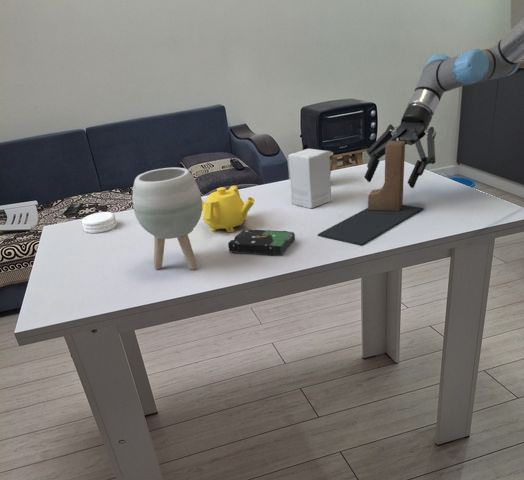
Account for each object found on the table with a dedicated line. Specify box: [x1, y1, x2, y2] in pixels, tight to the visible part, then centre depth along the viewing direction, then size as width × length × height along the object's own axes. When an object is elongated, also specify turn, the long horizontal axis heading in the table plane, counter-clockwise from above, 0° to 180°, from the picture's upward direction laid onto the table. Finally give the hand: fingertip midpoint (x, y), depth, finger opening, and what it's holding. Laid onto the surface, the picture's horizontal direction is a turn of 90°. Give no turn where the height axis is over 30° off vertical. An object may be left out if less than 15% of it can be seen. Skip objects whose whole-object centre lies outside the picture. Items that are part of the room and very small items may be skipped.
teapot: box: [202, 185, 255, 233], centre depth 152 cm, size 20×18×11 cm
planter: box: [132, 167, 203, 271], centre depth 130 cm, size 16×16×22 cm
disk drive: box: [227, 228, 296, 256], centre depth 139 cm, size 10×3×15 cm
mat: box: [317, 204, 424, 247], centre depth 146 cm, size 14×30×1 cm, turn 137°
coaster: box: [81, 211, 118, 234], centre depth 165 cm, size 10×10×4 cm
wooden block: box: [367, 140, 406, 211], centre depth 148 cm, size 9×4×18 cm, turn 67°
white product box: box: [288, 148, 332, 209], centre depth 162 cm, size 9×9×15 cm
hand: (388, 182), depth 146 cm, fingers open, 13 cm apart
